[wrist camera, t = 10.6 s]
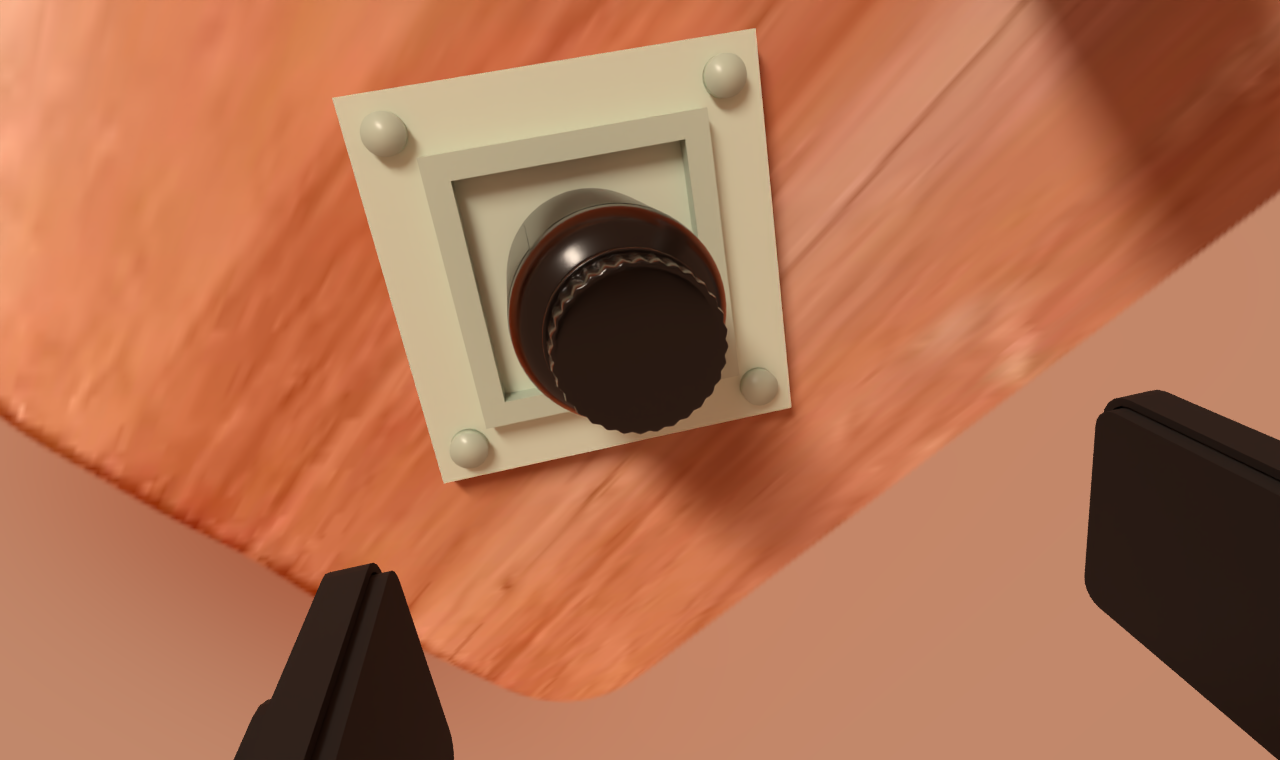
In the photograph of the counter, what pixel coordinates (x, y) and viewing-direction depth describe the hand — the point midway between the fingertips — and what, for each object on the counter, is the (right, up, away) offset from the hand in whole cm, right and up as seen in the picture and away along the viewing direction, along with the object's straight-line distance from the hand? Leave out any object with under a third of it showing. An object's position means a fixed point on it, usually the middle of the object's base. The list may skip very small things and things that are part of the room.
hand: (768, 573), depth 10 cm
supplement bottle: (-4, +7, +21) cm, 22 cm away
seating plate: (-4, +7, +22) cm, 23 cm away
